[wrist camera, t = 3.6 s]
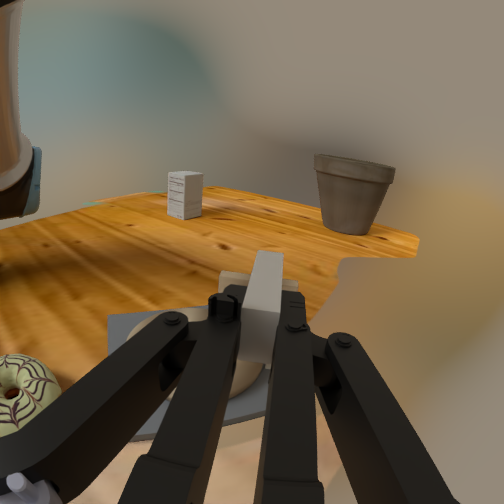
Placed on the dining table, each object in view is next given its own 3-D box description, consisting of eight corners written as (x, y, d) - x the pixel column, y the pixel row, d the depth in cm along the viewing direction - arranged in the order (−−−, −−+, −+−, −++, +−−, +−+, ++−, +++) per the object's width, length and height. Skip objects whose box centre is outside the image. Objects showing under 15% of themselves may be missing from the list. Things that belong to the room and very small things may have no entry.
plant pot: (294, 227, 85) (304, 151, 77) (316, 212, 106) (325, 153, 98) (379, 248, 75) (395, 168, 67) (384, 229, 96) (395, 167, 88)
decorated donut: (33, 469, 14) (13, 447, 12) (-33, 416, 15) (-51, 391, 13) (82, 395, 24) (72, 369, 22) (15, 362, 24) (4, 337, 23)
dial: (102, 380, 24) (80, 292, 21) (156, 305, 38) (153, 234, 35) (278, 420, 23) (300, 333, 19) (283, 326, 37) (296, 253, 33)
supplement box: (184, 211, 90) (186, 170, 85) (202, 216, 86) (204, 173, 82) (166, 215, 84) (167, 171, 80) (183, 220, 80) (185, 174, 76)
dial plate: (108, 321, 35) (107, 313, 35) (241, 306, 43) (242, 299, 43) (118, 442, 19) (114, 435, 19) (311, 400, 27) (315, 392, 27)
